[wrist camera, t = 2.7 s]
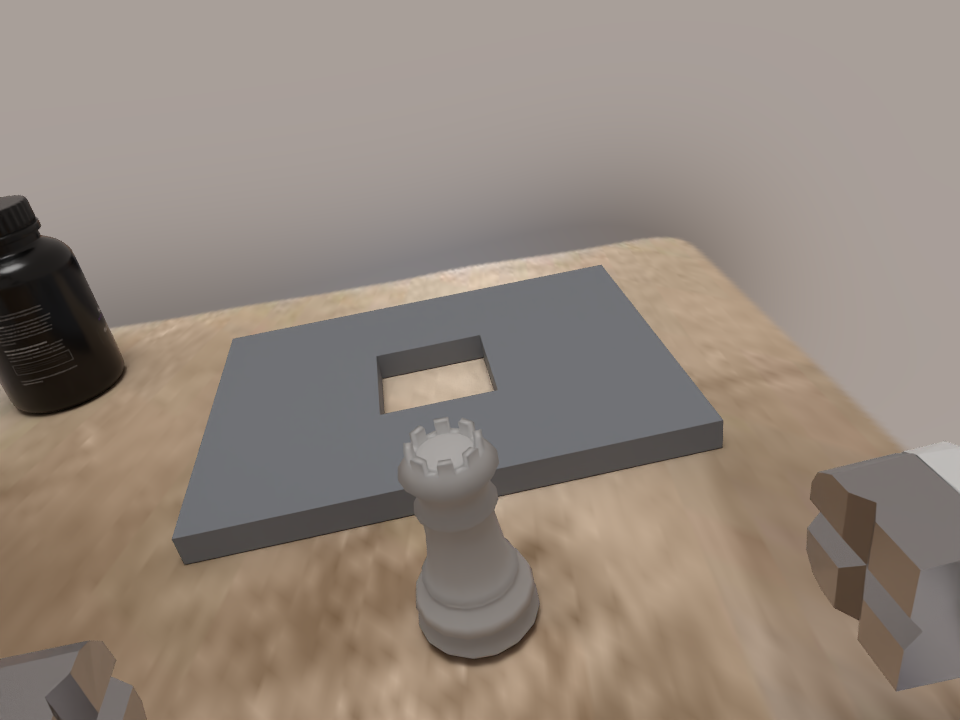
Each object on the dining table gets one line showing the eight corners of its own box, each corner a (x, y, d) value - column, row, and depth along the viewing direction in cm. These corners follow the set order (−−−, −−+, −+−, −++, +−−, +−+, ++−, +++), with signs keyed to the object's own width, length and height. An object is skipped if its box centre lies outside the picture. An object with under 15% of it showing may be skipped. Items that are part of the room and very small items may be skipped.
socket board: (184, 564, 31) (171, 539, 30) (240, 359, 46) (232, 338, 46) (722, 447, 32) (723, 420, 32) (602, 285, 48) (601, 264, 47)
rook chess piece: (487, 549, 29) (455, 384, 25) (566, 612, 26) (544, 434, 22) (396, 615, 27) (345, 446, 23) (470, 692, 24) (426, 512, 20)
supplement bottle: (148, 357, 49) (71, 183, 43) (82, 417, 43) (-18, 227, 37) (64, 359, 50) (-22, 192, 44) (-11, 417, 45) (-121, 235, 39)
